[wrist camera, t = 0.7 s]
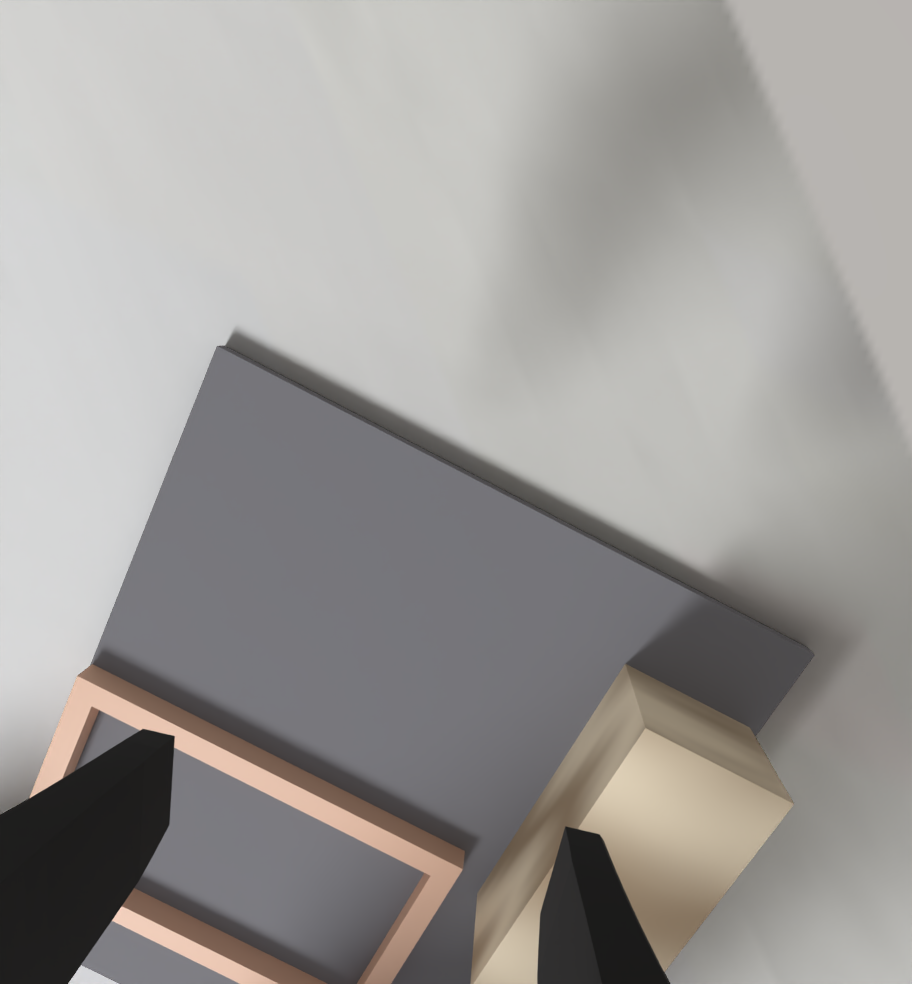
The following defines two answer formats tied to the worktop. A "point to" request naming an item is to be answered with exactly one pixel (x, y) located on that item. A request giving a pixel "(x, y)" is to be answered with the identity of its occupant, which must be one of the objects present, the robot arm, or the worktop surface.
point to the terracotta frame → (255, 970)
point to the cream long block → (637, 822)
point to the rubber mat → (374, 671)
